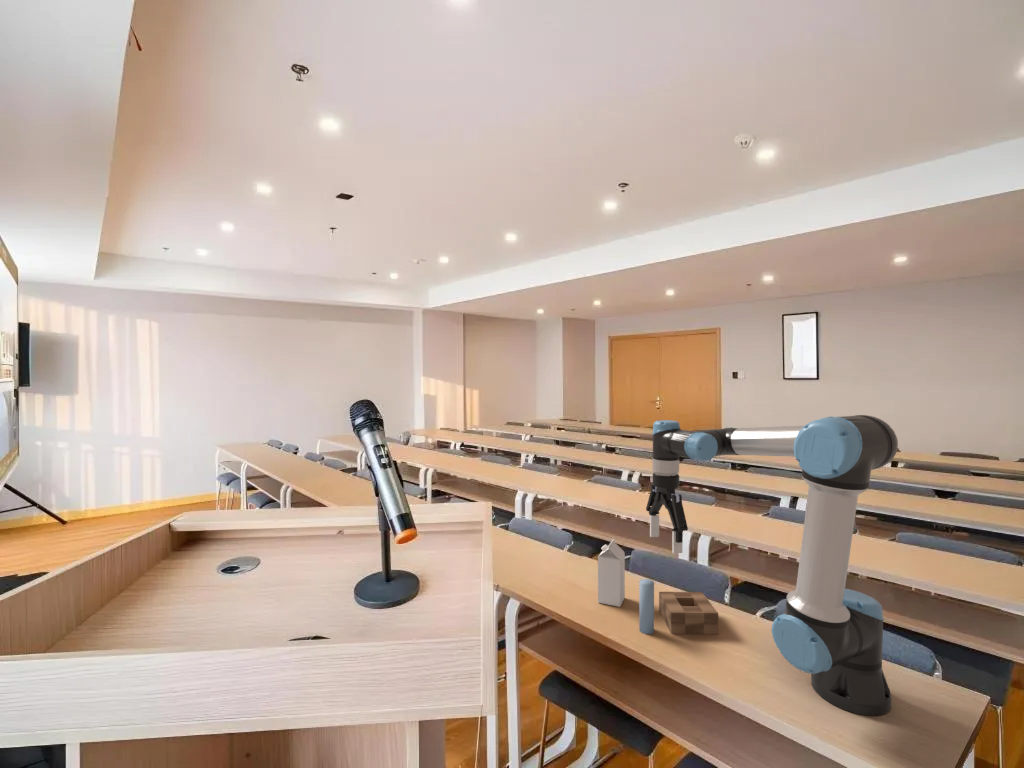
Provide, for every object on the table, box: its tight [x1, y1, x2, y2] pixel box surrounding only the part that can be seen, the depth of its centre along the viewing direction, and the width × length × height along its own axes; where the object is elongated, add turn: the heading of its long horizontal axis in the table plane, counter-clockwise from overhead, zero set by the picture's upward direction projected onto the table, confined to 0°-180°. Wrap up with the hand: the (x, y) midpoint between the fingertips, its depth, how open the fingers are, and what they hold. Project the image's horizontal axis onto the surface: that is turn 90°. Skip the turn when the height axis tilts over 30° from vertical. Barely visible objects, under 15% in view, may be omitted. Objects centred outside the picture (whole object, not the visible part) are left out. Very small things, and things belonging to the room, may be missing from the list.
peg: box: [638, 578, 655, 635], centre depth 140 cm, size 4×4×14 cm
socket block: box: [658, 591, 719, 635], centre depth 145 cm, size 13×13×6 cm
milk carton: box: [597, 538, 626, 608], centre depth 158 cm, size 7×7×19 cm
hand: (665, 544), depth 146 cm, fingers open, 13 cm apart
